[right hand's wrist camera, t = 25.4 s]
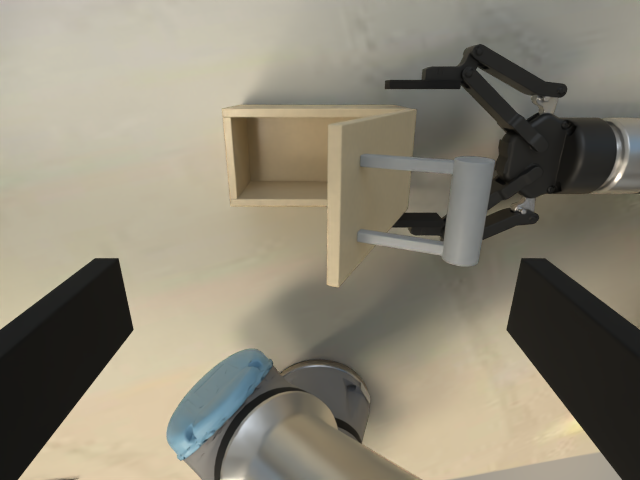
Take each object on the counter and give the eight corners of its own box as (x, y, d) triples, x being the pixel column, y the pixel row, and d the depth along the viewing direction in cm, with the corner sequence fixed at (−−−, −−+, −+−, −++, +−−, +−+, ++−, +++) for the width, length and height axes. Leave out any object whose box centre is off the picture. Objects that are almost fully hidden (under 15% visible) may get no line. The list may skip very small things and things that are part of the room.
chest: (246, 186, 47) (230, 206, 39) (240, 104, 43) (221, 108, 35) (388, 186, 47) (402, 206, 39) (394, 104, 43) (411, 108, 35)
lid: (325, 285, 23) (468, 317, 20) (327, 124, 20) (499, 131, 17) (399, 207, 38) (487, 218, 35) (407, 108, 35) (505, 110, 32)
